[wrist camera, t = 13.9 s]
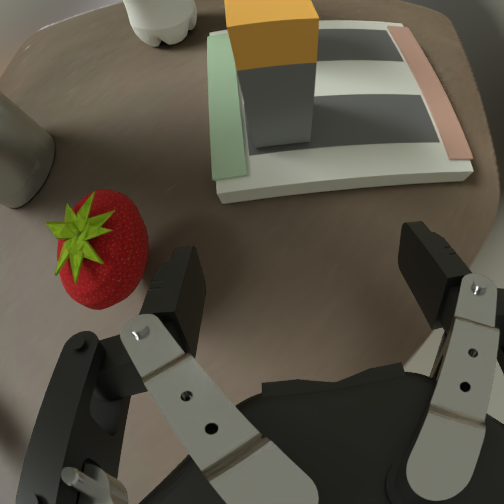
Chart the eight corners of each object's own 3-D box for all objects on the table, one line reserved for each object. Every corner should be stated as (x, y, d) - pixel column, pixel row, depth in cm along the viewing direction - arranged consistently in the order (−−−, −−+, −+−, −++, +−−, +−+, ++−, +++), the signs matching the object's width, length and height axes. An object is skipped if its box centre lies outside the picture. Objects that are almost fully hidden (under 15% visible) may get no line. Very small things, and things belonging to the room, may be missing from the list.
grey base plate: (219, 204, 24) (151, 87, 11) (211, 46, 28) (179, -58, 15) (464, 180, 22) (555, 90, 9) (399, 36, 26) (424, -59, 13)
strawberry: (100, 308, 23) (9, 295, 13) (113, 216, 24) (36, 164, 15) (167, 317, 22) (88, 312, 13) (179, 217, 24) (116, 155, 14)
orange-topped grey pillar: (253, 148, 22) (226, 27, 11) (248, 105, 23) (223, -12, 12) (310, 141, 21) (319, 18, 11) (300, 99, 22) (300, -20, 12)
